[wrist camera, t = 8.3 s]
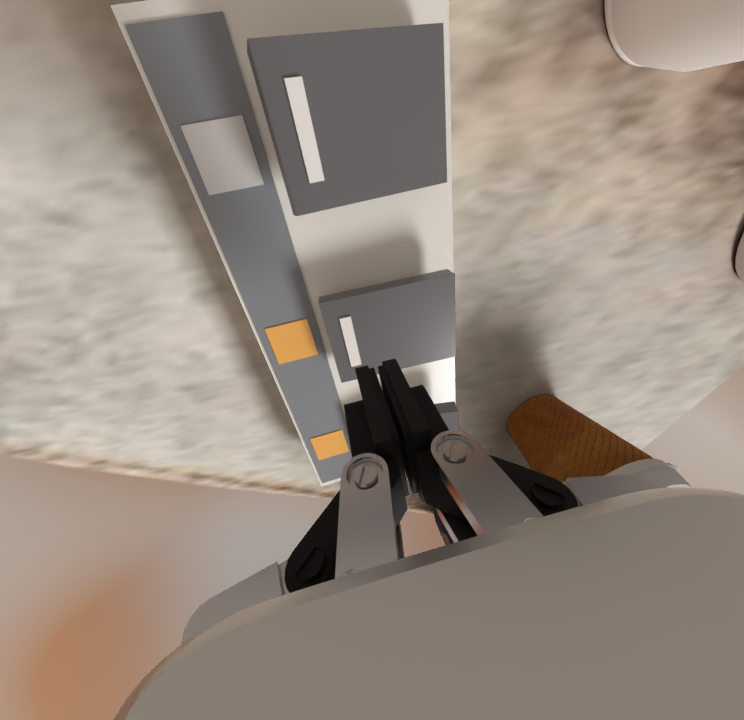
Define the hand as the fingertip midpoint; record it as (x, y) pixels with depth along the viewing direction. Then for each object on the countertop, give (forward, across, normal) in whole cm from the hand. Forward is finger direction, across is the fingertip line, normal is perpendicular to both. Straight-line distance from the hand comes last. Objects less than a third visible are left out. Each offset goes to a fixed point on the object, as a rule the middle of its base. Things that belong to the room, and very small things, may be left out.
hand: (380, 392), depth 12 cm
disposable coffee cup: (+12, -17, +18) cm, 27 cm away
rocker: (+5, -2, -9) cm, 10 cm away
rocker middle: (+5, -2, 0) cm, 6 cm away
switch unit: (+11, 0, 0) cm, 11 cm away
